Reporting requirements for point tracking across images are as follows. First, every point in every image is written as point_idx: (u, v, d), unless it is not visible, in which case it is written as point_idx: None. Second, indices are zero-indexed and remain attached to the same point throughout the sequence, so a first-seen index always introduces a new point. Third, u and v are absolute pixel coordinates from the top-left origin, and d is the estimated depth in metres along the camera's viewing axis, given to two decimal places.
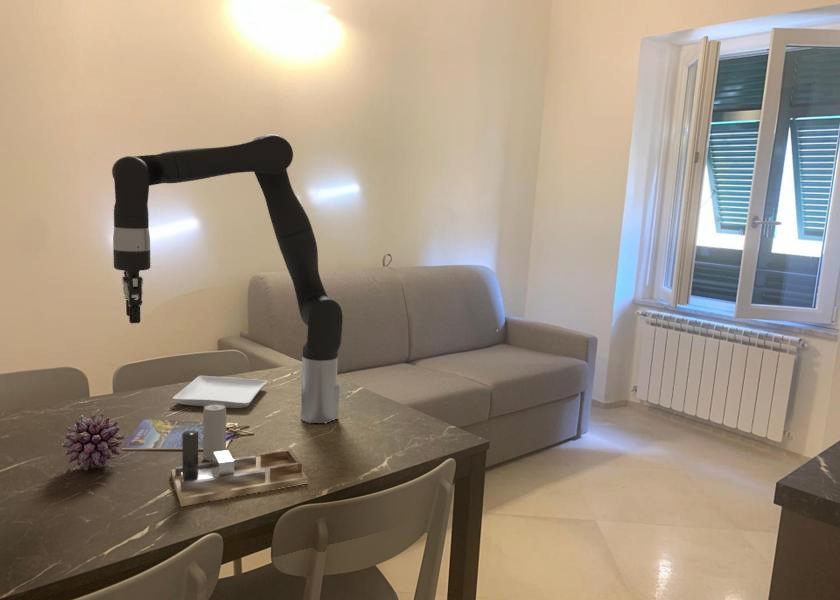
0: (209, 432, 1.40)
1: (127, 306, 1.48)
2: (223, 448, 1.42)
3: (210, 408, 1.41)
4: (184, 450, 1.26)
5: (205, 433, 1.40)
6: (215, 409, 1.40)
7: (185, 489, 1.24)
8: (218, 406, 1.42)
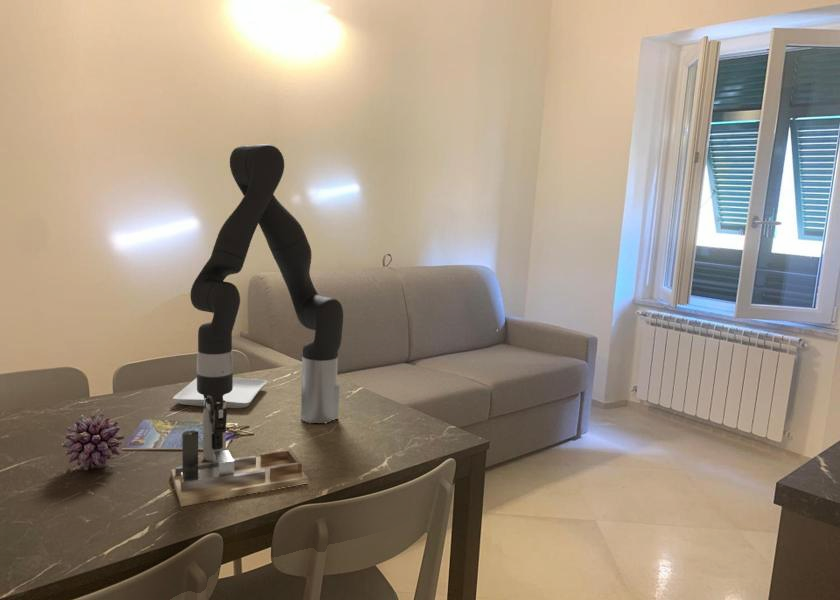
0: (209, 432, 1.40)
1: None
2: (223, 448, 1.42)
3: None
4: (184, 450, 1.26)
5: (205, 433, 1.40)
6: None
7: (185, 489, 1.24)
8: None
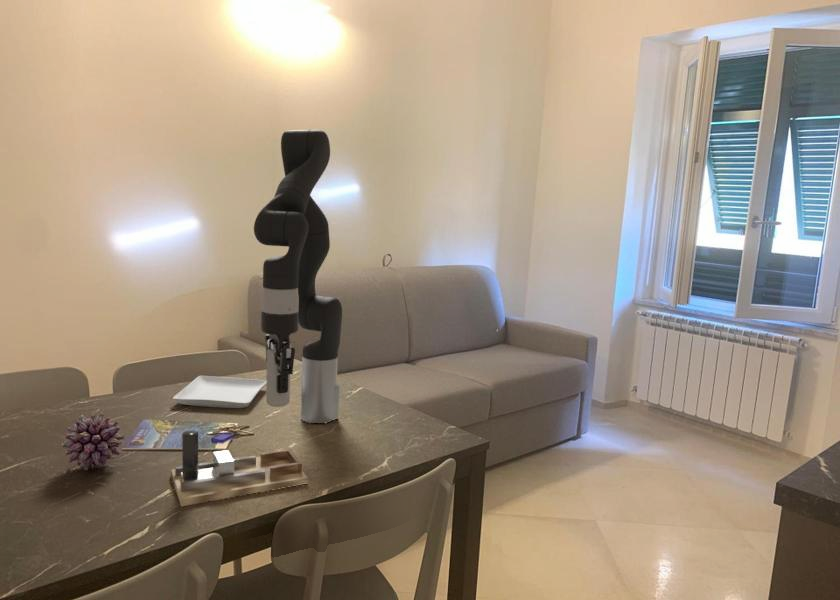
0: (274, 374, 1.31)
1: None
2: (287, 393, 1.33)
3: None
4: (184, 450, 1.26)
5: (269, 376, 1.32)
6: None
7: (185, 489, 1.24)
8: None
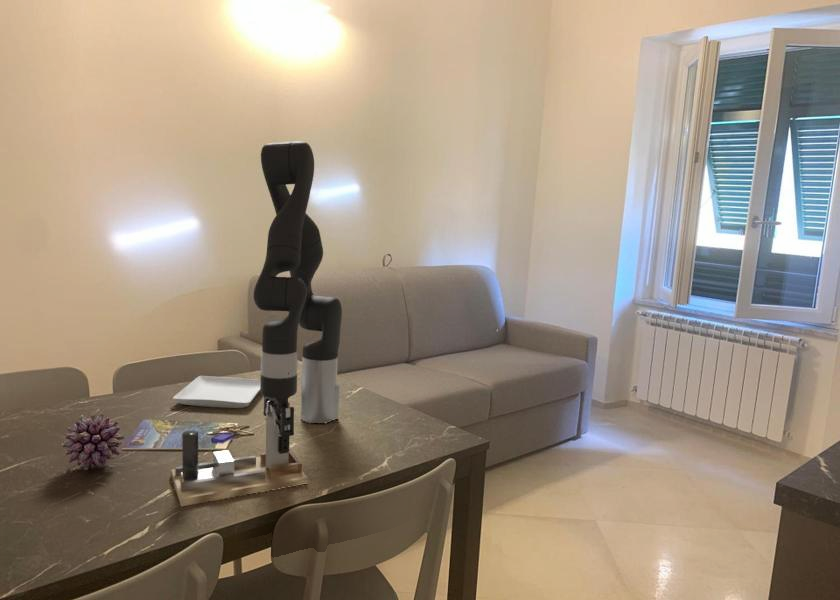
0: (273, 440, 1.33)
1: None
2: (286, 457, 1.36)
3: None
4: (184, 450, 1.26)
5: (268, 441, 1.34)
6: None
7: (185, 489, 1.24)
8: None
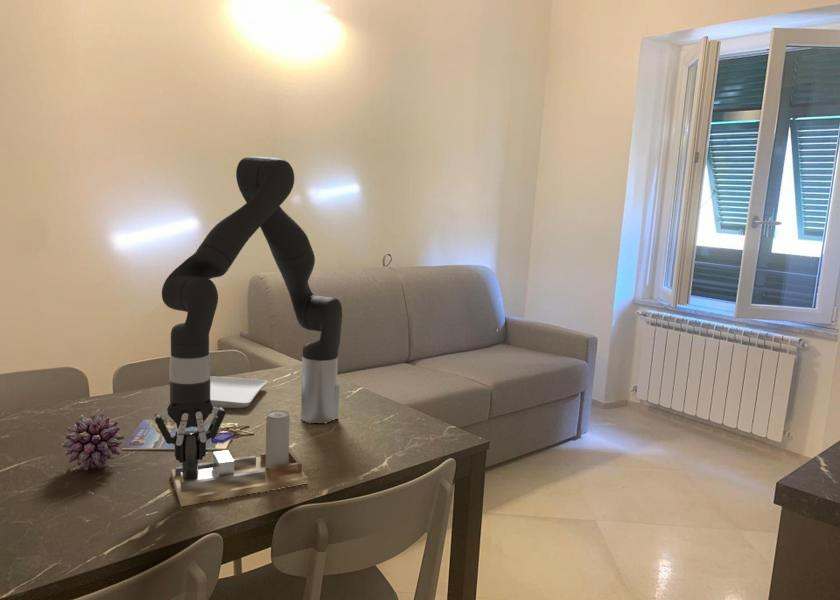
0: (273, 440, 1.33)
1: None
2: (286, 457, 1.36)
3: (273, 415, 1.34)
4: (184, 450, 1.26)
5: (268, 441, 1.34)
6: (279, 416, 1.34)
7: (185, 489, 1.24)
8: (281, 412, 1.36)
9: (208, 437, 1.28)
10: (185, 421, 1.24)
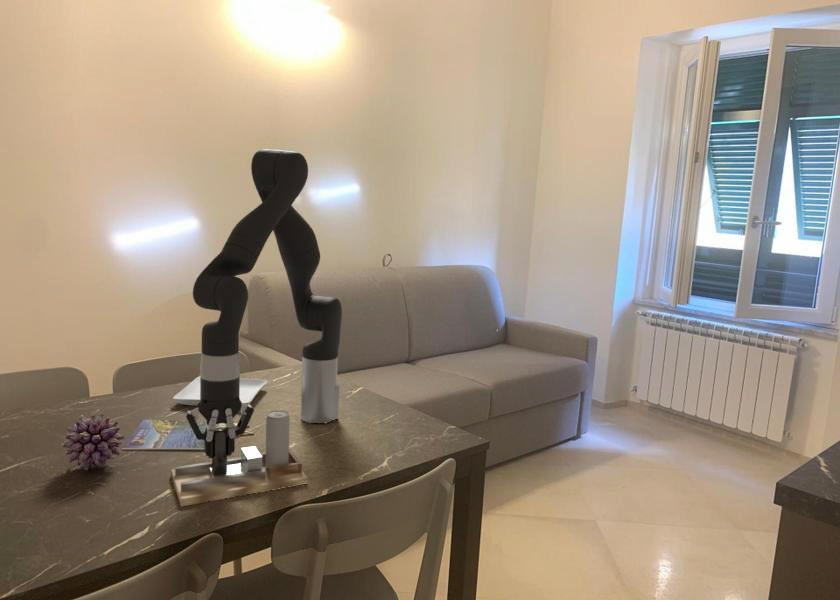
0: (273, 440, 1.33)
1: None
2: (286, 457, 1.36)
3: (273, 415, 1.34)
4: (214, 446, 1.29)
5: (268, 441, 1.34)
6: (279, 416, 1.34)
7: (185, 489, 1.24)
8: (281, 412, 1.36)
9: (237, 433, 1.31)
10: (215, 417, 1.27)
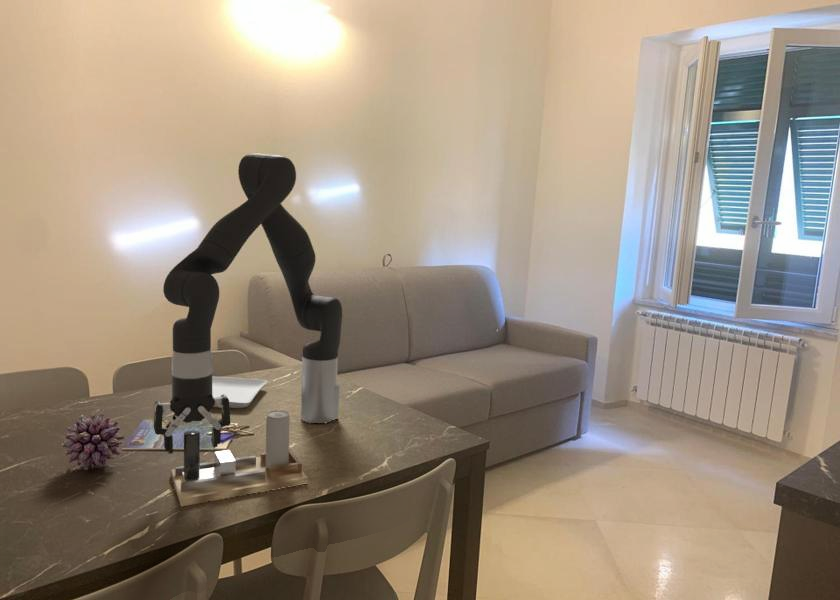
0: (273, 440, 1.33)
1: (212, 434, 1.31)
2: (286, 457, 1.36)
3: (273, 415, 1.34)
4: (185, 450, 1.26)
5: (268, 441, 1.34)
6: (279, 416, 1.34)
7: (185, 489, 1.24)
8: (281, 412, 1.36)
9: (223, 425, 1.30)
10: (184, 415, 1.25)
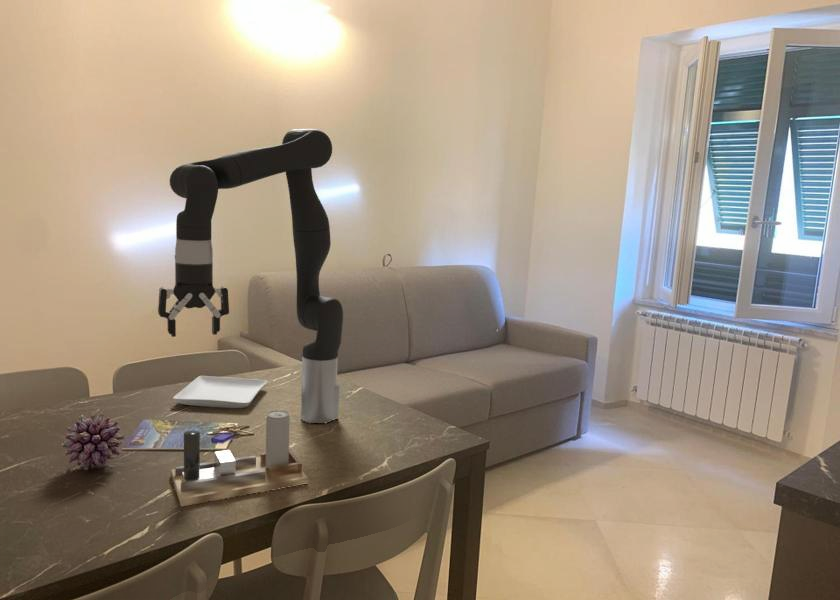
0: (273, 440, 1.33)
1: (212, 323, 1.41)
2: (286, 457, 1.36)
3: (273, 415, 1.34)
4: (185, 450, 1.26)
5: (268, 441, 1.34)
6: (279, 416, 1.34)
7: (185, 489, 1.24)
8: (281, 412, 1.36)
9: (222, 314, 1.40)
10: (187, 300, 1.35)
